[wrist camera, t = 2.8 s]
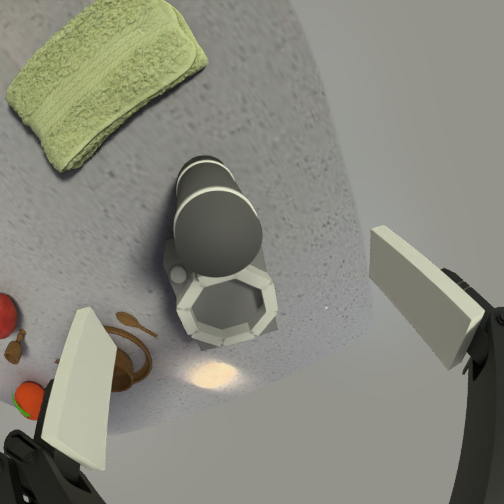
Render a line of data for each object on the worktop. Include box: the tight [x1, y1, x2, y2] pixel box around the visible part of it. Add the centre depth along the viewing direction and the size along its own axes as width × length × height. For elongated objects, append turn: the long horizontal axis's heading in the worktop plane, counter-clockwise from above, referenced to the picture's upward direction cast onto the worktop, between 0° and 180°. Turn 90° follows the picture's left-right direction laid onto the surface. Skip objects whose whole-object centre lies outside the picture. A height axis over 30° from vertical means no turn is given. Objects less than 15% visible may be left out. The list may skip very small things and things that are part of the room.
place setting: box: [4, 312, 158, 392], centre depth 32 cm, size 18×20×6 cm
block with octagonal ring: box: [163, 238, 278, 351], centre depth 30 cm, size 12×9×6 cm
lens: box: [173, 155, 262, 278], centre depth 22 cm, size 5×5×13 cm
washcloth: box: [5, 0, 208, 173], centre depth 19 cm, size 13×18×3 cm
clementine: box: [12, 382, 44, 420], centre depth 33 cm, size 8×7×7 cm
